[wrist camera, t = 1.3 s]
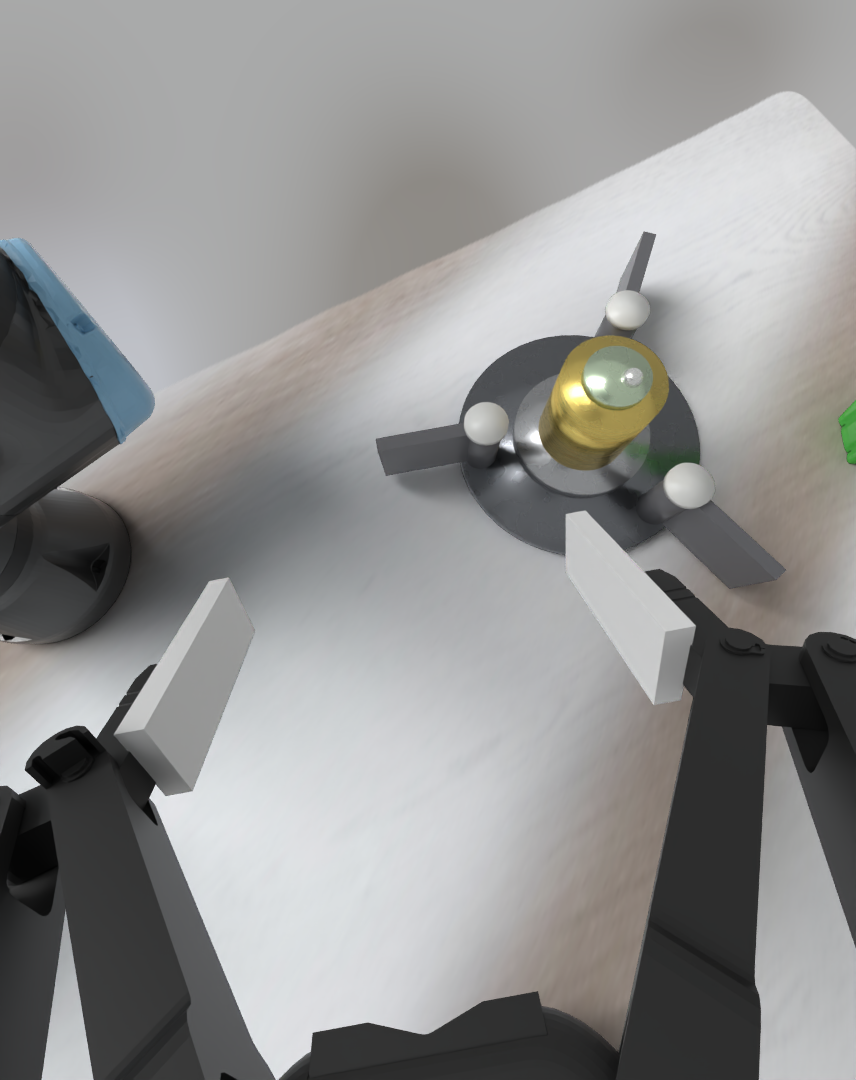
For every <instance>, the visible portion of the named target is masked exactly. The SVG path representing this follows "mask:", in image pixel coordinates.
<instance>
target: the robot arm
mask: <svg viewBox="0 0 856 1080" xmlns="http://www.w3.org/2000/svg"><path fill="white" fill-rule="evenodd" d="M154 406H155V400H154V395H153V393H152V391H151V389H150V388H149V387H148V385H147V384H146V382H145V381H144V380H143V378H141V376H140V375H139V373H138V372H137V371H136V370H135V368H134V367H133V366H132V365H131V364H130V362H129V361H128V360H127V359H126V357H125V356H124V355H123V354H122V353H121V351H120V350H119V349H118V348H117V346H116V345H115V344H114V343H113V342H112V340H111V339H110V338H109V337H108V335H107V334H106V333H105V332H104V331H103V329H102V328H101V327H100V326H99V325H98V323H97V322H96V321H95V320H94V318H93V317H92V316H91V315H90V314H89V313H88V311H87V310H86V309H85V308H84V306H83V305H82V304H81V303H80V302H79V300H78V299H77V298H76V297H75V296H74V294H73V293H72V292H71V291H70V290H69V288H68V287H67V286H66V285H65V284H64V282H63V281H62V280H61V279H60V278H59V276H58V275H57V274H56V273H55V272H54V271H53V269H52V268H51V267H50V266H49V265H48V263H47V262H46V261H45V260H44V259H43V258H42V257H41V255H40V254H39V253H38V252H37V251H36V250H35V249H34V247H33V246H32V245H31V244H30V243H29V242H27V241H26V240H24V239H21V238H13V239H10V240H2V241H1V240H0V641H2V642H7V643H14V644H46V643H53V642H58V641H62V640H65V639H68V638H70V637H73V636H75V635H77V634H79V633H81V632H82V631H84V630H86V629H87V628H89V627H90V626H91V625H93V624H94V623H95V622H96V621H98V620H99V619H100V618H101V617H102V616H103V615H104V614H105V613H106V612H107V611H108V609H109V608H110V607H111V606H112V604H113V603H114V602H115V600H116V599H117V597H118V595H119V594H120V592H121V590H122V588H123V586H124V583H125V581H126V578H127V575H128V571H129V566H130V559H131V547H130V540H129V536H128V532H127V530H126V527H125V525H124V523H123V521H122V520H121V518H120V517H119V516H118V514H117V513H116V512H115V511H114V510H113V509H112V508H111V507H110V506H108V505H107V504H105V503H104V502H102V501H100V500H98V499H96V498H93V497H91V496H88V495H86V494H84V493H81V492H78V491H75V490H71V489H67V488H61V487H58V486H60V485H61V484H63V483H64V482H66V481H67V480H68V479H70V478H71V477H73V476H74V475H75V474H77V473H78V472H80V471H81V470H83V469H84V468H85V467H87V466H88V465H90V464H91V463H93V462H94V461H95V460H97V459H98V458H100V457H101V456H103V455H104V454H105V453H107V452H108V451H110V450H111V449H113V448H114V447H115V446H117V445H118V444H122V443H123V442H124V441H125V440H126V437H127V436H128V435H129V434H130V433H131V432H133V431H134V430H135V429H136V428H137V427H138V426H140V425H141V424H142V423H143V422H144V421H146V420H147V419H148V418H149V417H150V416H151V414H152V412H153V409H154ZM566 574H567V575H568V577H569V578H570V580H571V581H572V583H573V584H574V586H575V587H576V589H577V590H578V592H579V593H580V595H581V597H582V598H583V600H584V601H585V603H586V604H587V606H588V607H589V609H590V610H591V612H592V613H593V615H594V616H595V618H596V619H597V621H598V622H599V624H600V625H601V627H602V628H603V630H604V631H605V633H606V634H607V636H608V637H609V639H610V640H611V642H612V643H613V645H614V646H615V648H616V649H617V651H618V652H619V654H620V655H621V657H622V658H623V660H624V661H625V663H626V664H627V666H628V667H629V669H630V670H631V672H632V673H633V675H634V676H635V678H636V679H637V681H638V682H639V684H640V685H641V687H642V688H643V690H644V691H645V693H646V694H647V696H648V697H649V699H650V700H651V702H652V703H653V705H657V704H663V703H668V702H673V701H679V700H681V697H682V692H683V687H684V686H685V687H686V689H687V690H688V691H689V693H690V694H691V695H692V696H693V701H692V706H691V710H690V715H689V719H688V725H687V730H686V734H685V739H684V744H683V749H682V754H681V758H680V763H679V768H678V773H677V777H676V782H675V787H674V792H673V797H672V801H671V806H670V811H669V816H668V820H667V825H666V830H665V835H664V840H663V844H662V849H661V854H660V859H659V863H658V868H657V873H656V878H655V882H654V887H653V892H652V897H651V902H650V906H649V911H648V916H647V921H646V925H645V930H644V935H643V940H642V945H641V949H640V954H639V959H638V964H637V968H636V973H635V978H634V982H633V987H632V992H631V996H630V1001H629V1005H628V1010H627V1015H626V1019H625V1024H624V1029H623V1034H622V1039H621V1043H620V1048H619V1053H618V1052H617V1051H616V1050H615V1049H614V1048H613V1047H612V1046H611V1045H610V1044H609V1043H608V1042H607V1041H606V1040H605V1039H604V1038H603V1037H602V1036H601V1035H599V1034H598V1033H597V1032H596V1031H594V1030H593V1029H592V1028H590V1027H589V1026H588V1025H586V1024H585V1023H583V1022H582V1021H580V1020H578V1019H576V1018H575V1017H573V1016H571V1015H569V1014H567V1013H564V1012H562V1011H559V1010H557V1009H553V1008H549V1007H544V1006H541V1003H540V999H539V994H538V991H537V992H532V993H526V994H521V995H516V996H510V997H505V998H499V999H494V1000H488V1001H483V1002H481V1003H480V1004H478V1005H476V1006H475V1007H473V1008H471V1009H470V1010H468V1011H466V1012H465V1013H463V1014H461V1015H460V1016H458V1017H457V1018H455V1019H453V1020H452V1021H450V1022H448V1023H447V1024H445V1025H443V1026H442V1027H440V1028H438V1029H437V1030H435V1031H434V1032H432V1033H430V1034H425V1035H422V1034H417V1033H412V1032H408V1031H403V1030H399V1029H394V1028H390V1027H385V1026H381V1025H376V1024H371V1023H364V1024H358V1025H353V1026H347V1027H342V1028H336V1029H331V1030H326V1031H320V1032H315V1033H313V1036H312V1046H311V1052H310V1053H308V1054H306V1055H305V1056H304V1057H303V1058H301V1059H300V1060H299V1061H298V1062H296V1063H295V1064H294V1065H293V1066H292V1067H291V1068H290V1069H289V1070H288V1071H287V1072H286V1073H285V1074H284V1075H283V1076H282V1077H281V1078H280V1079H279V1080H759V1058H760V1033H761V1008H760V998H759V994H758V991H757V988H756V986H755V977H754V976H755V950H756V930H757V911H758V891H759V872H760V852H761V832H762V813H763V793H764V774H765V754H766V735H767V725H773V726H782V728H783V731H784V734H785V737H786V740H787V743H788V746H789V749H790V752H791V755H792V758H793V761H794V764H795V767H796V770H797V773H798V776H799V779H800V782H801V785H802V788H803V791H804V794H805V797H806V800H807V803H808V806H809V809H810V812H811V815H812V818H813V821H814V824H815V827H816V830H817V833H818V836H819V839H820V842H821V845H822V848H823V851H824V854H825V857H826V860H827V863H828V866H829V869H830V872H831V875H832V878H833V881H834V884H835V887H836V890H837V893H838V896H839V899H840V902H841V905H842V908H843V911H844V914H845V917H846V920H847V923H848V926H849V929H850V932H851V935H852V938H853V941H854V944H855V947H856V639H854V638H851V637H849V636H846V635H842V634H837V633H832V632H818V633H814V634H811V635H809V636H808V637H807V639H806V640H805V642H804V645H803V647H796V646H779V645H768V644H765V643H764V642H763V640H762V639H760V638H758V637H757V636H755V635H753V634H752V633H749V632H746V631H743V630H740V629H734V628H728V627H727V626H726V625H725V624H724V623H723V622H722V621H721V620H720V619H719V618H718V617H717V616H716V615H715V614H714V613H713V612H712V611H711V610H710V609H708V608H707V607H706V606H705V605H704V604H703V603H702V602H701V601H700V600H699V599H698V598H695V595H694V594H693V593H692V592H691V591H690V590H689V589H686V587H685V586H684V585H683V584H682V583H681V582H680V581H679V580H678V579H677V578H676V577H675V576H673V575H671V574H669V573H667V572H665V571H663V570H661V569H656V570H651V571H646V572H644V571H643V570H642V569H641V568H640V567H639V566H638V565H637V564H636V563H635V562H634V561H633V560H632V559H631V558H630V556H629V555H628V554H627V553H626V552H625V551H624V550H623V549H622V548H621V547H620V546H619V545H618V544H617V543H616V542H615V541H614V540H613V539H612V538H611V537H610V536H609V535H608V533H607V532H606V531H605V530H604V529H603V528H602V527H601V526H600V525H599V524H598V523H597V522H596V521H595V520H594V519H593V518H592V517H591V516H590V515H589V514H588V513H587V512H586V511H579V512H574V513H569V514H566ZM254 633H255V629H254V627H253V625H252V623H251V621H250V619H249V617H248V615H247V613H246V611H245V609H244V607H243V605H242V603H241V601H240V599H239V597H238V595H237V593H236V591H235V589H234V587H233V585H232V582H231V580H230V578H229V577H228V578H223V579H217V580H212V581H209V582H208V584H207V586H206V587H205V589H204V590H203V592H202V594H201V595H200V597H199V598H198V600H197V602H196V603H195V605H194V606H193V608H192V610H191V611H190V613H189V614H188V616H187V618H186V619H185V621H184V622H183V624H182V626H181V627H180V629H179V630H178V632H177V634H176V635H175V637H174V639H173V640H172V642H171V643H170V645H169V647H168V648H167V650H166V651H165V653H164V655H163V656H162V658H161V659H160V661H159V663H158V664H154V665H150V666H149V667H148V668H147V669H146V670H144V671H143V672H142V673H141V674H140V675H139V676H138V677H137V678H136V679H135V681H134V682H133V684H132V685H131V687H130V688H129V690H128V691H127V695H125V696H124V697H123V699H122V700H121V702H120V703H119V707H117V708H116V710H115V711H114V713H113V714H112V716H111V717H110V719H109V720H108V722H107V723H106V725H105V726H104V728H103V729H102V731H101V732H100V734H99V735H98V737H97V738H95V737H94V736H93V735H92V734H91V733H90V731H89V730H88V729H87V728H86V727H85V726H74V727H70V728H67V729H65V730H63V731H61V732H59V733H57V734H55V735H53V736H52V737H50V738H49V739H48V740H46V741H45V742H43V743H42V744H41V745H40V746H39V747H38V748H37V749H36V750H35V751H34V752H33V753H32V755H31V756H30V758H29V759H28V761H27V763H26V767H25V771H26V772H27V773H28V774H30V775H31V776H32V777H33V778H34V779H35V780H36V781H37V782H38V783H39V784H41V785H40V786H38V787H35V788H33V789H31V790H28V791H26V792H24V793H22V794H19V795H18V794H17V793H16V792H14V791H13V790H12V789H11V788H9V787H8V786H0V1080H41V1078H42V1071H43V1064H44V1057H45V1050H46V1043H47V1036H48V1029H49V1022H50V1015H51V1008H52V1001H53V994H54V986H55V979H56V972H57V965H58V958H59V951H60V944H61V937H62V930H63V923H64V916H65V909H66V914H67V920H68V926H69V932H70V938H71V944H72V950H73V956H74V963H75V969H76V975H77V981H78V987H79V993H80V999H81V1005H82V1011H83V1017H84V1024H85V1030H86V1036H87V1042H88V1048H89V1054H90V1060H91V1066H92V1072H93V1079H94V1080H275V1078H274V1076H273V1074H272V1072H271V1070H270V1069H269V1067H268V1065H267V1064H266V1062H265V1061H264V1059H263V1058H262V1056H261V1055H260V1053H259V1052H258V1050H257V1049H256V1047H255V1045H254V1043H253V1041H252V1039H251V1037H250V1034H249V1032H248V1029H247V1027H246V1025H245V1022H244V1020H243V1017H242V1015H241V1012H240V1010H239V1008H238V1005H237V1003H236V1000H235V998H234V996H233V993H232V991H231V988H230V986H229V983H228V981H227V979H226V976H225V974H224V971H223V969H222V966H221V964H220V962H219V959H218V957H217V954H216V952H215V949H214V947H213V945H212V942H211V940H210V937H209V935H208V932H207V930H206V928H205V925H204V923H203V920H202V918H201V915H200V913H199V911H198V908H197V906H196V903H195V901H194V898H193V896H192V894H191V891H190V889H189V886H188V884H187V881H186V879H185V877H184V874H183V872H182V869H181V867H180V865H179V862H178V860H177V857H176V855H175V852H174V850H173V848H172V845H171V843H170V840H169V838H168V835H167V833H166V831H165V828H164V826H163V823H162V821H161V818H160V816H159V814H158V811H157V809H156V806H155V804H154V803H153V802H152V801H151V800H150V799H149V797H150V795H151V793H152V791H153V789H154V786H155V784H156V785H157V786H158V787H159V789H160V790H161V791H162V792H163V793H164V795H165V796H168V795H174V794H179V793H185V792H190V791H193V789H194V786H195V784H196V781H197V778H198V776H199V773H200V771H201V768H202V766H203V763H204V761H205V758H206V755H207V753H208V750H209V748H210V745H211V743H212V740H213V738H214V735H215V732H216V730H217V727H218V725H219V722H220V720H221V717H222V714H223V712H224V709H225V707H226V704H227V702H228V699H229V697H230V694H231V691H232V689H233V686H234V684H235V681H236V679H237V676H238V674H239V671H240V668H241V666H242V663H243V661H244V658H245V656H246V653H247V651H248V648H249V645H250V643H251V640H252V638H253V635H254Z"/></svg>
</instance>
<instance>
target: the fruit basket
mask: <svg viewBox="0 0 856 1080" xmlns="http://www.w3.org/2000/svg"><path fill="white" fill-rule="evenodd" d="M838 420H839V423H840V425H841V426H842V429H841V434H842V439H843V444H844V448H845V450H846V452H847V453H848V454H847V462H848V463H850V464H856V401H855V402H854V403H853V404H852V405H851V406H850V407H849V408H848V409H847V410H846V411H845V412H844V413H843V414H842V415H841V416H840V417H839V419H838Z"/></svg>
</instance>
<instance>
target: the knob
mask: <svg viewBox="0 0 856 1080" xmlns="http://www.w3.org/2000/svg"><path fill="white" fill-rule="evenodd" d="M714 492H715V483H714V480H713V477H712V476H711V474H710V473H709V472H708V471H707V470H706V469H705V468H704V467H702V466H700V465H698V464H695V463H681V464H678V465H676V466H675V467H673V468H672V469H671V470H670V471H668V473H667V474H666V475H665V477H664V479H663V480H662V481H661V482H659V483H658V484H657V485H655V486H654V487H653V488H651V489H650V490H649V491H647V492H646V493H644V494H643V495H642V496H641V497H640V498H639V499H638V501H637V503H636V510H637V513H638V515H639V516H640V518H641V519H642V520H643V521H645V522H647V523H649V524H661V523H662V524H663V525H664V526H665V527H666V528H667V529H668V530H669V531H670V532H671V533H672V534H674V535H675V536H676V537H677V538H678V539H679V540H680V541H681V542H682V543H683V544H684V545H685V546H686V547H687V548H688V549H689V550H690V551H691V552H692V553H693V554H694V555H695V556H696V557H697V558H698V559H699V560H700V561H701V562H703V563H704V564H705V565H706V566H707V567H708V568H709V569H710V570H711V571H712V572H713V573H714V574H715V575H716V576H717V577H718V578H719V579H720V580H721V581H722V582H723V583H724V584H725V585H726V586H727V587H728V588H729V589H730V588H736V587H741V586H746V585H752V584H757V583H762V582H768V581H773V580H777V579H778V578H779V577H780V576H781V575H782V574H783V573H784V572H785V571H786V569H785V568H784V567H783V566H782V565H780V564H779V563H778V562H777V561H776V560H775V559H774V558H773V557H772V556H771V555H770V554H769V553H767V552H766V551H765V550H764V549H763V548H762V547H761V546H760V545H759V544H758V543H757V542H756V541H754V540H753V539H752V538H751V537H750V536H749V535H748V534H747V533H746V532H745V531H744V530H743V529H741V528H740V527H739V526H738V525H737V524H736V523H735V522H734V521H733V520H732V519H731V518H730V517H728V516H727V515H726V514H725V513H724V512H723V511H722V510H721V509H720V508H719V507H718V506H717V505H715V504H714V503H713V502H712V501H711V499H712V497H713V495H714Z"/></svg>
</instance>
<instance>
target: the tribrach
mask: <svg viewBox="0 0 856 1080" xmlns="http://www.w3.org/2000/svg"><path fill="white" fill-rule="evenodd" d="M482 402H491V403H494V404H497V405H499V406H500V407H501V408H503V409H504V411H505V412H506V414H507V416H508V419H509V426H508V430H507V433H506V435H505V436H504V438H503V439H502V440H501V441H500V444H499V448H498V451H497V455H496V458H495V461H494V462H493V464H492V465H490V466H489V467H487V468H484V469H477V468H474V467H472V466H470V465H469V464H468V463H467V462H466V461H465V462H460V465H461V469H462V472H463V476H464V478H465V480H466V483H467V485H468V487H469V489H470V491H471V493H472V495H473V496H474V498H475V499H476V501H477V503H478V504H479V505H480V506H481V508H482V509H483V510H484V511H485V513H486V514H487V515H488V516H489V517H490V518H491V519H492V520H493V521H494V522H495V523H496V524H498V525H499V526H500V527H501V528H503V529H504V530H505V531H507V532H508V533H509V534H511V535H512V536H514V537H516V538H518V539H519V540H521V541H523V542H525V543H527V544H529V545H532V546H534V547H537V548H539V549H542V550H545V551H549V552H553V553H557V554H563V555H566V514H569V513H574V512H579V511H586V512H587V513H588V514H589V515H590V516H591V517H592V518H593V519H594V520H595V521H596V522H597V523H598V524H599V525H600V526H601V527H602V528H603V529H604V530H605V531H606V532H607V533H608V535H609V536H610V537H611V538H612V539H613V540H614V541H615V542H616V543H617V544H618V545H619V546H620V547H621V548H622V549H623V550H624V549H626V548H629V547H631V546H634V545H636V544H638V543H640V542H642V541H644V540H646V539H648V538H649V537H651V536H653V535H655V534H656V533H657V532H659V531H660V530H661V529H662V528H664V527H665V526H664V525H663V524H662V523H661V524H649V523H647V522H645V521H643V520H642V519H641V518H640V516H639V515H638V513H637V510H636V503H637V501H638V499H639V498H640V497H641V496H642V495H643V494H644V493H646V492H647V491H649V490H650V489H651V488H653V487H654V486H655V485H657V484H658V483H659V482H661V481H662V480H663V479H664V477H665V475H666V474H667V473H668V471H670V470H671V469H672V468H673V467H675V466H676V465H678V464H681V463H695V464H698V465H699V461H700V443H699V437H698V430H697V427H696V423H695V420H694V416H693V414H692V412H691V410H690V407H689V405H688V403H687V401H686V400H685V398H684V396H683V395H682V393H681V392H680V390H679V389H678V388H677V386H676V385H675V384H674V383H673V381H672V380H671V379H670V378H669V377H668V376H667V372H666V370H665V367H664V365H663V364H662V362H661V360H660V359H659V358H658V357H657V355H656V354H655V353H654V352H652V351H651V350H650V349H649V348H648V347H646V346H645V345H643V344H641V343H640V342H637V341H635V340H633V339H630V338H626V337H622V336H599V337H595V338H594V337H588V336H578V335H571V336H555V337H547V338H543V339H539V340H535V341H532V342H529V343H526V344H524V345H521V346H519V347H517V348H515V349H513V350H511V351H509V352H507V353H506V354H504V355H503V356H502V357H500V358H499V359H497V360H496V361H495V362H494V363H492V364H491V365H490V366H489V367H488V368H487V369H486V370H485V371H484V372H483V373H482V375H481V376H480V377H479V378H478V379H477V381H476V382H475V384H474V385H473V387H472V388H471V390H470V392H469V394H468V396H467V398H466V401H465V403H464V406H463V409H462V412H461V416H460V422H459V424H461V423H464V419H465V415H466V413H467V411H468V410H469V409H470V408H471V407H472V406H474V405H476V404H478V403H482Z"/></svg>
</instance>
